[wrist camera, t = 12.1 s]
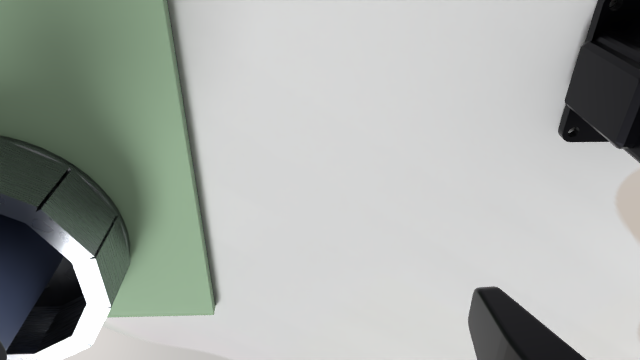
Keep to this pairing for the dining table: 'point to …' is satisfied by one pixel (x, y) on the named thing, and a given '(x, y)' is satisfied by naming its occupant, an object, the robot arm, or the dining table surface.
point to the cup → (64, 248)
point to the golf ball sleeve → (22, 273)
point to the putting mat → (114, 132)
